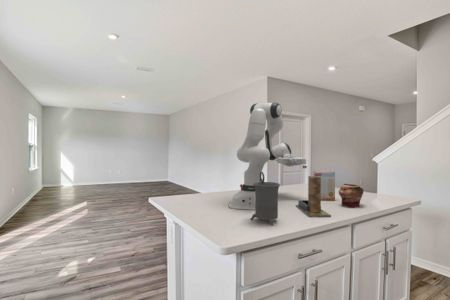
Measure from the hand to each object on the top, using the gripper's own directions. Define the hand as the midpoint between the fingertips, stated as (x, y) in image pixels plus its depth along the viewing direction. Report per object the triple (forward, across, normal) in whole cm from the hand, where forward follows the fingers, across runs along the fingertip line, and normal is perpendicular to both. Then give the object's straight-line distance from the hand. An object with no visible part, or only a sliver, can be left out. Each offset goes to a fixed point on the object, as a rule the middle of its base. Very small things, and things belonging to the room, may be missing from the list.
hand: (294, 161), depth 171 cm
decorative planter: (+8, +36, +28) cm, 47 cm away
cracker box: (-10, +25, +28) cm, 39 cm away
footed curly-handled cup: (+42, -26, +30) cm, 58 cm away
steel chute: (+22, +4, +29) cm, 37 cm away
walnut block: (+27, +4, +28) cm, 39 cm away
